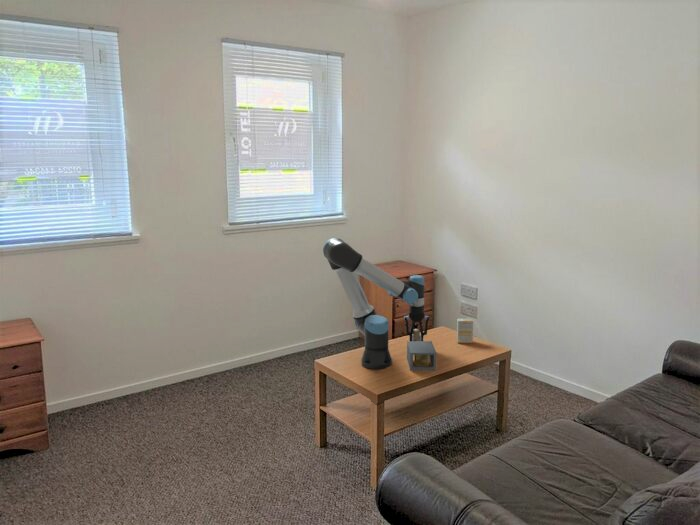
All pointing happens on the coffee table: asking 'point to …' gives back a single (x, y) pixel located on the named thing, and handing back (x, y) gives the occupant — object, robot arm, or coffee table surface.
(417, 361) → the cream headed mallet
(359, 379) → the coffee table surface
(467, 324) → the supplement box
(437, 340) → the coffee table surface
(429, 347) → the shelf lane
